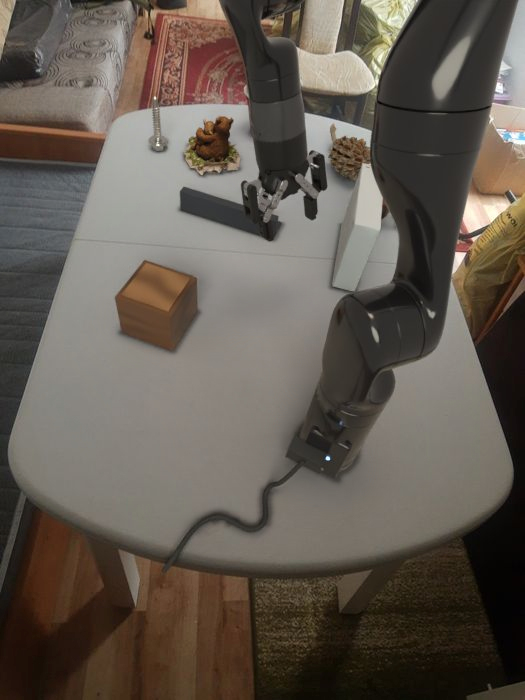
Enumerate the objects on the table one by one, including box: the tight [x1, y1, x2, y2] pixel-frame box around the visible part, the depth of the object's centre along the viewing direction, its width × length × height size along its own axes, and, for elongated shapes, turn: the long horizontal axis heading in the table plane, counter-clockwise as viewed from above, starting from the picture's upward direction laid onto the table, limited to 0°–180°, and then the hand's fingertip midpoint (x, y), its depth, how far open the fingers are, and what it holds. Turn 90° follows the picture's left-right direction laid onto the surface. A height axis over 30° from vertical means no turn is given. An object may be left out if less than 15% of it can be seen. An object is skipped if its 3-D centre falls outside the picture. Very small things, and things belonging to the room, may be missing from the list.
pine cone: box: [327, 122, 371, 181], centre depth 121 cm, size 22×10×10 cm, turn 19°
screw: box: [147, 95, 169, 152], centre depth 116 cm, size 13×5×5 cm
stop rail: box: [179, 186, 283, 238], centre depth 105 cm, size 6×22×5 cm, turn 70°
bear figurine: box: [183, 114, 242, 176], centre depth 116 cm, size 14×15×12 cm
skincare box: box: [331, 163, 383, 292], centre depth 97 cm, size 21×6×16 cm, turn 168°
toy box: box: [114, 259, 198, 352], centre depth 83 cm, size 10×10×9 cm
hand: (290, 228), depth 78 cm, fingers open, 8 cm apart
